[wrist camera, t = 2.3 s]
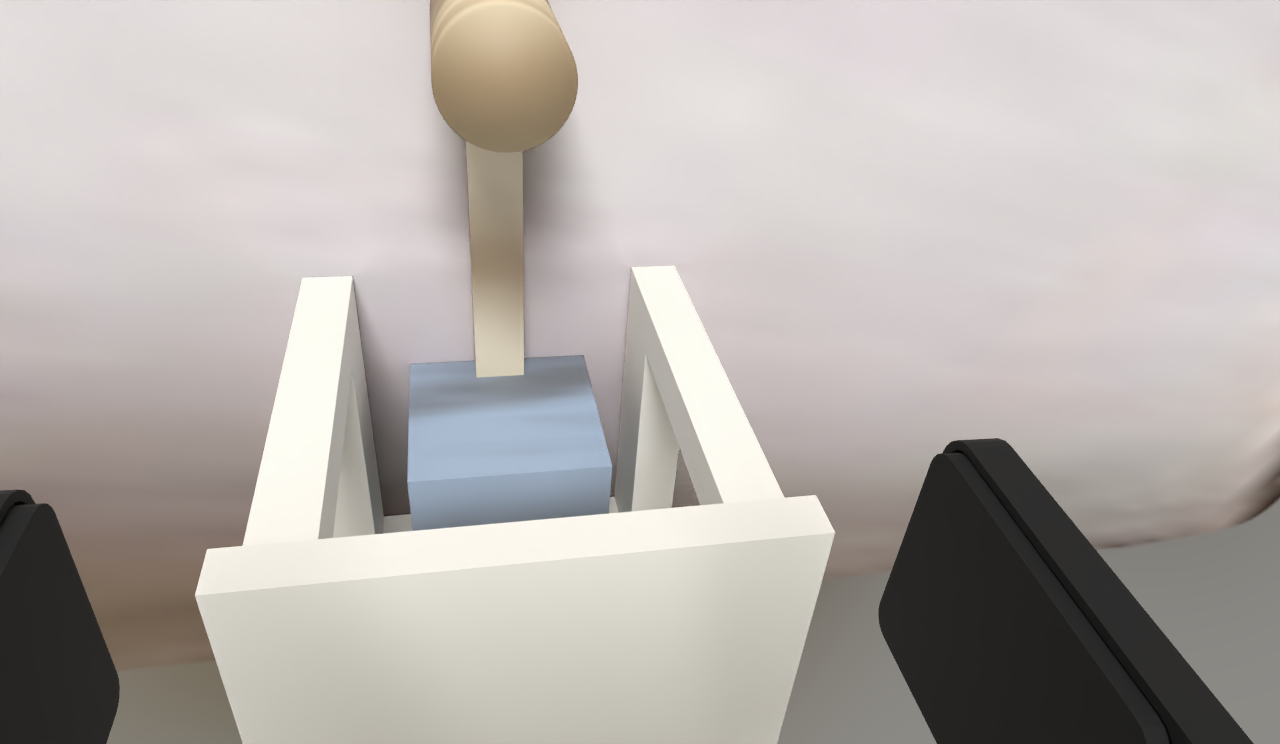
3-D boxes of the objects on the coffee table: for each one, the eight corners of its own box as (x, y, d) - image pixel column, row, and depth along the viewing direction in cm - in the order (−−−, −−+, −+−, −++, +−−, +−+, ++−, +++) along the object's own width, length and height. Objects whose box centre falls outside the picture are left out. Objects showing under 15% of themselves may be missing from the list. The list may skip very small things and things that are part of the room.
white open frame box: (282, 264, 27) (194, 595, 17) (689, 252, 30) (835, 532, 19) (336, 557, 35) (298, 915, 24) (658, 527, 37) (750, 838, 27)
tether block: (370, -54, 23) (355, 2, 18) (599, -45, 24) (644, 11, 19) (422, 493, 34) (421, 618, 29) (578, 480, 35) (603, 599, 30)
